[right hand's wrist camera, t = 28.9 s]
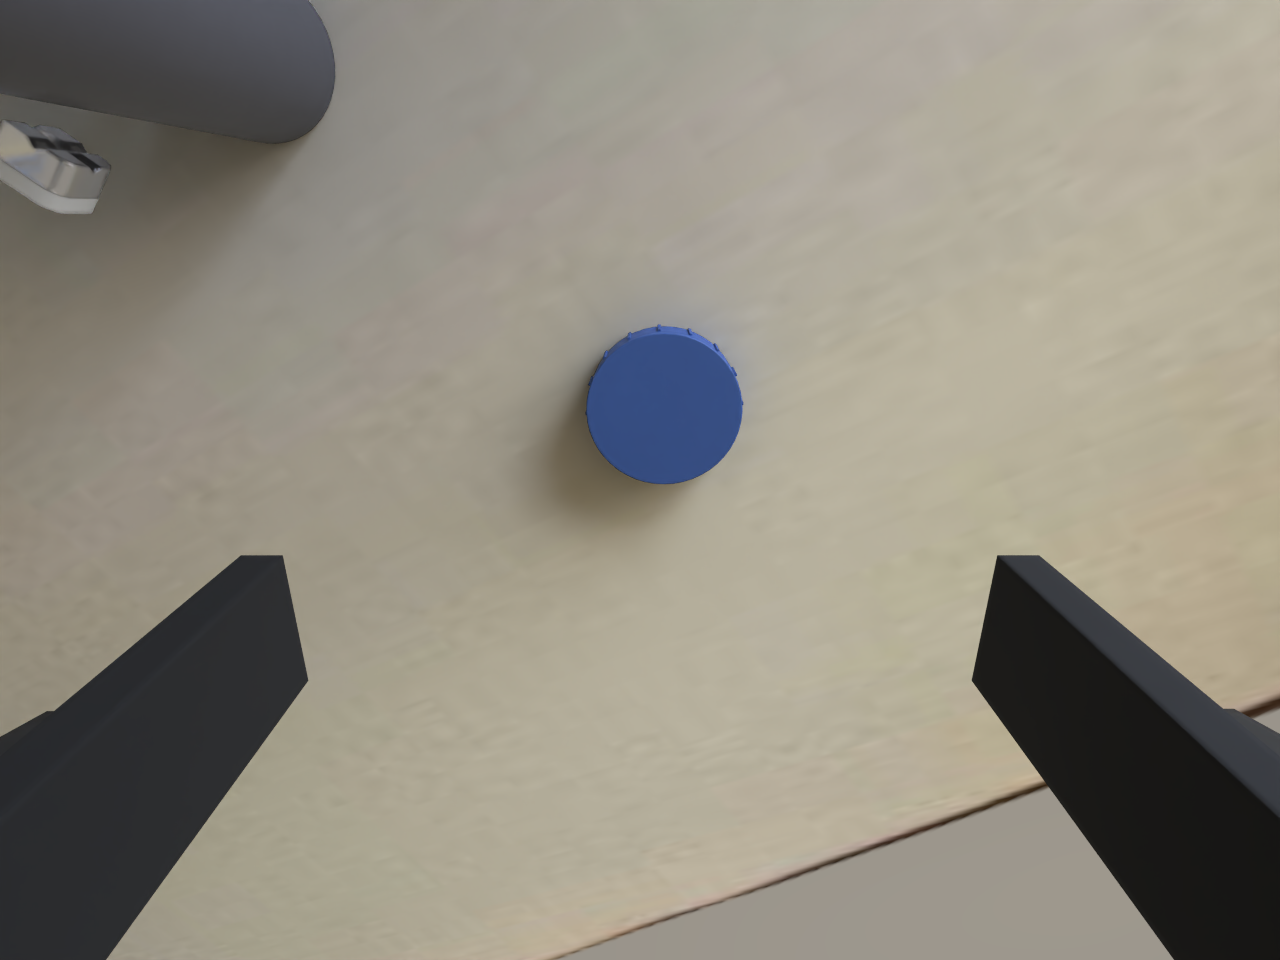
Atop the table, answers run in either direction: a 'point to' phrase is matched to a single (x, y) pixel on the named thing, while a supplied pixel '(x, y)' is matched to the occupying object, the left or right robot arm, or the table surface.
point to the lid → (664, 405)
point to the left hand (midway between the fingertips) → (155, 29)
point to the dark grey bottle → (174, 62)
